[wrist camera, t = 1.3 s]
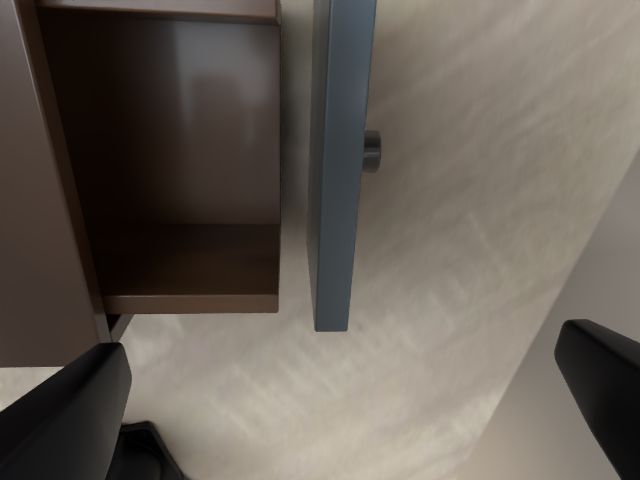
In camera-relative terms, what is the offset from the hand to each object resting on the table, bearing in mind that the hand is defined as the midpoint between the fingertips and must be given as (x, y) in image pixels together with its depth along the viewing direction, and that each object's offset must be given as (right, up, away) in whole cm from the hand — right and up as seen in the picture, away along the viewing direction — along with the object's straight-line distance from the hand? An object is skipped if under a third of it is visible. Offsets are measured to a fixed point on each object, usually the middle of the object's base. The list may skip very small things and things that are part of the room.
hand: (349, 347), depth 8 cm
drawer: (-6, +7, +10) cm, 14 cm away
